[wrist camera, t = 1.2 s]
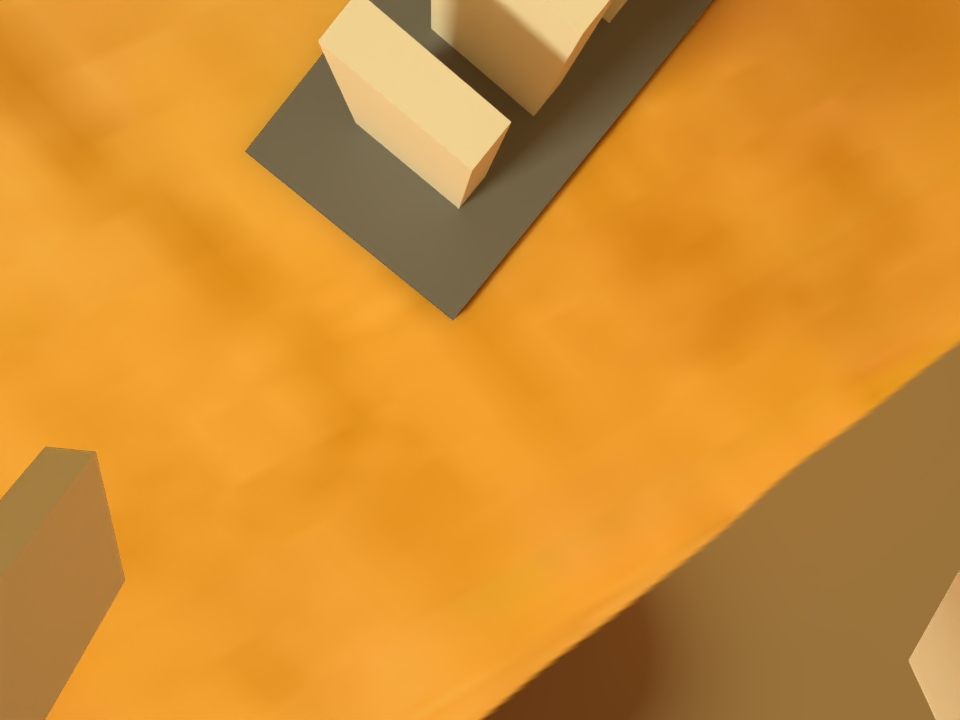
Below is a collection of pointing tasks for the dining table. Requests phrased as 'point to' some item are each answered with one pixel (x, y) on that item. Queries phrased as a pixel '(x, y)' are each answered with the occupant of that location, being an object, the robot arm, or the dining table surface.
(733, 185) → the dining table surface
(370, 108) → the domino
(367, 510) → the dining table surface
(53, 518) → the robot arm
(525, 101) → the domino
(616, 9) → the domino
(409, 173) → the mat
